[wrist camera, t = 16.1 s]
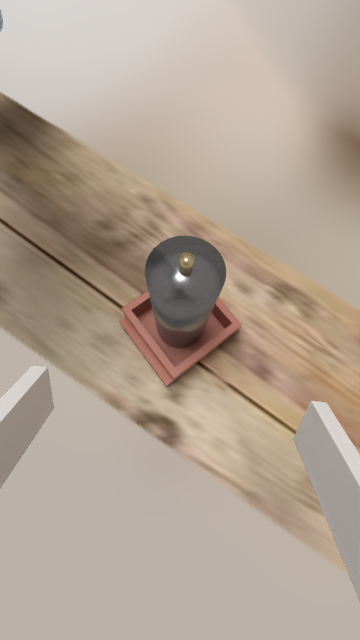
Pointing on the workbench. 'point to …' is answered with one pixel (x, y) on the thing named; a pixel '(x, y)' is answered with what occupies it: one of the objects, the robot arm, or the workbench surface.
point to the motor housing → (183, 287)
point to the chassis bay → (166, 357)
